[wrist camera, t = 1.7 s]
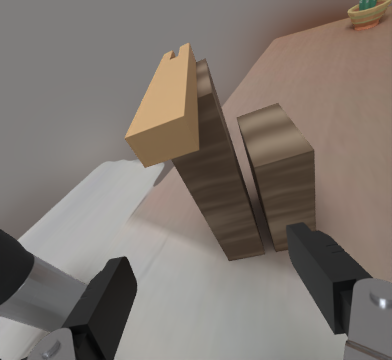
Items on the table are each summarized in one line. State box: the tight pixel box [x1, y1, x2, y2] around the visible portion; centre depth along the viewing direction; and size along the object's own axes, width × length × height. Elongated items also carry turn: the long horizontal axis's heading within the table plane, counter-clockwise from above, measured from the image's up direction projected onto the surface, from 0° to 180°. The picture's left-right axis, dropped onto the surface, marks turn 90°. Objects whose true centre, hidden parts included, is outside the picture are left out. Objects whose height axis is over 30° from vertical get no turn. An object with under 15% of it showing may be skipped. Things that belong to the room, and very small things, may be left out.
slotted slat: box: [125, 43, 199, 168], centre depth 22 cm, size 24×4×2 cm, turn 0°
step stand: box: [171, 59, 316, 261], centre depth 35 cm, size 14×16×32 cm
